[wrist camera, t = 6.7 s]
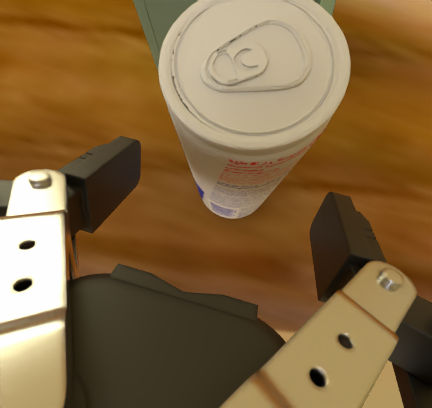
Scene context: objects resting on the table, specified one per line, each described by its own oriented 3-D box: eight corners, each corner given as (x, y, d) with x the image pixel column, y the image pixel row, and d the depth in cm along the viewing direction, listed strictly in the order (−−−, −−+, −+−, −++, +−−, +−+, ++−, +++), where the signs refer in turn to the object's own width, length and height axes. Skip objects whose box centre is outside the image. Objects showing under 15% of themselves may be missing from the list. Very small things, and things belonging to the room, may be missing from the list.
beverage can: (278, 178, 22) (394, 35, 7) (240, 232, 21) (284, 192, 7) (224, 142, 23) (231, -56, 8) (186, 193, 22) (115, 79, 7)
